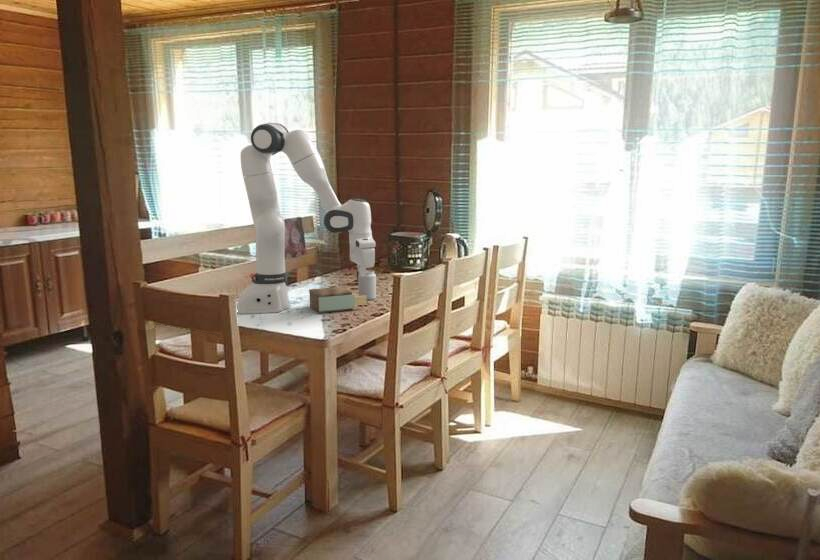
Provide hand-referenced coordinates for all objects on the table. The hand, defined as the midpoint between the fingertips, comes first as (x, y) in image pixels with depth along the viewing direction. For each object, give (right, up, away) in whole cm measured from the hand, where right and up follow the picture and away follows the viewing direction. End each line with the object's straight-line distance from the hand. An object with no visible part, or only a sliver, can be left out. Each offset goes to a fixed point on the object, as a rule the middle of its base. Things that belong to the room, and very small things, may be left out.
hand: (362, 275), depth 246 cm
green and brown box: (-13, -13, +3) cm, 18 cm away
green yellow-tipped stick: (-7, -13, -2) cm, 15 cm away
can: (+1, -10, +20) cm, 22 cm away
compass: (-2, -5, +49) cm, 49 cm away
